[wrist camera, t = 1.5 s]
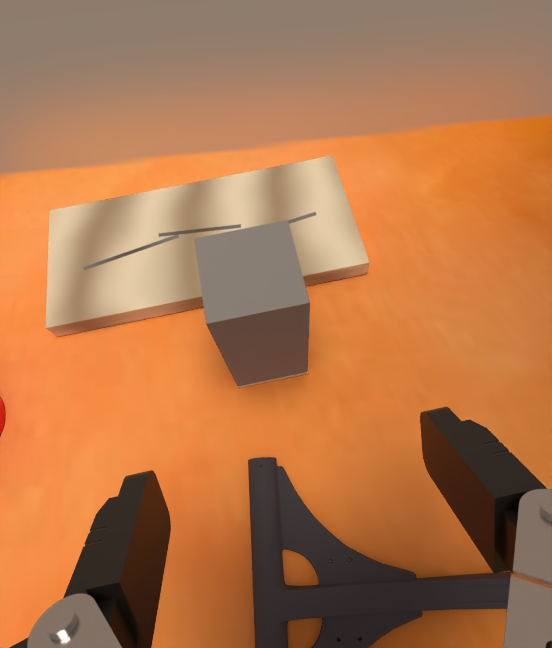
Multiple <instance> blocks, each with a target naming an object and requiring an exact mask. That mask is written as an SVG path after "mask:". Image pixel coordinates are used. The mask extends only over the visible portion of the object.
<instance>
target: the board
mask: <svg viewBox="0 0 552 648" xmlns="http://www.w3.org/2000/svg"><path fill="white" fill-rule="evenodd" d="M285 220H288V222H289V226H290V229H291V233H292V237H293V241H294V245H295V248H296V252H297V256H298V260H299V264H300V267H301V271H302V275H303V279H304V282H305V286H310V285H315V284H320V283H325V282H330V281H335V280H339V279H344V278H349V277H354V276H359V275H364V274H366V273H367V270H368V266H369V260H368V257H367V254H366V251H365V248H364V245H363V243H362V240H361V237H360V234H359V231H358V228H357V225H356V222H355V220H354V217H353V214H352V211H351V208H350V205H349V202H348V199H347V197H346V194H345V191H344V188H343V185H342V182H341V179H340V176H339V174H338V171H337V168H336V165H335V162H334V159H333V156H328V157H323V158H317V159H312V160H307V161H302V162H297V163H292V164H287V165H281V166H276V167H271V168H266V169H261V170H256V171H250V172H245V173H240V174H235V175H230V176H225V177H220V178H214V179H209V180H204V181H199V182H194V183H189V184H183V185H178V186H173V187H168V188H163V189H158V190H153V191H147V192H142V193H137V194H132V195H127V196H122V197H116V198H111V199H106V200H101V201H96V202H91V203H86V204H80V205H75V206H70V207H65V208H60V209H55V210H50V217H49V246H48V276H47V305H46V329H48V330H49V331H50V332H52V333H53V334H54V335H56V336H57V337H59V336H64V335H69V334H74V333H79V332H84V331H89V330H94V329H99V328H104V327H108V326H113V325H118V324H123V323H128V322H133V321H138V320H143V319H148V318H153V317H158V316H163V315H167V314H172V313H177V312H182V311H187V310H192V309H197V308H202V307H204V305H203V298H202V291H201V284H200V277H199V270H198V263H197V256H196V249H195V242H194V238H199V237H204V236H209V235H214V234H219V233H224V232H229V231H234V230H239V229H244V228H249V227H254V226H259V225H264V224H269V223H274V222H279V221H285Z"/></svg>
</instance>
